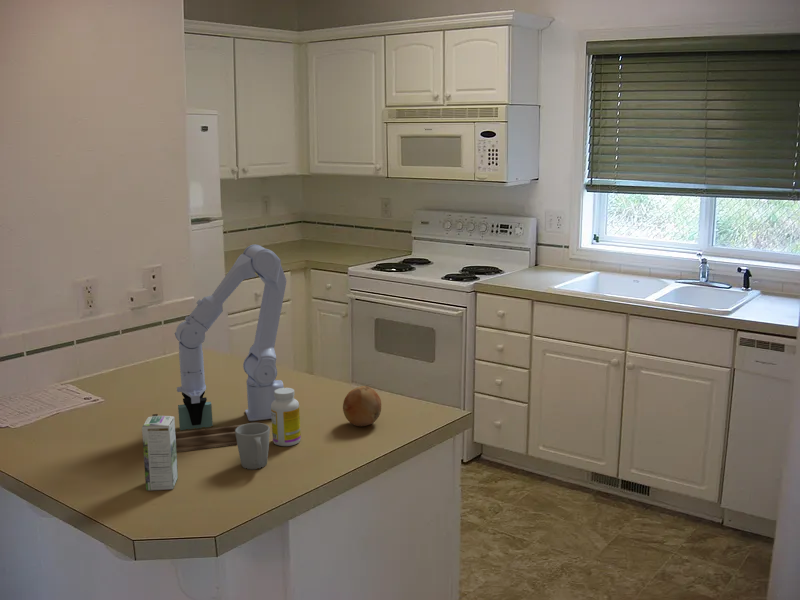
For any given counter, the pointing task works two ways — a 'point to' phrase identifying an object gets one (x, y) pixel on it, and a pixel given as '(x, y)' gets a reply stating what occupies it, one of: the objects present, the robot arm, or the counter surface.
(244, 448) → the cup
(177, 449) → the track
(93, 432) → the counter surface
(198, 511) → the counter surface
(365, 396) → the grapefruit
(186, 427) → the teal rectangular block
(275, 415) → the supplement bottle
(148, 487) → the syrup box
